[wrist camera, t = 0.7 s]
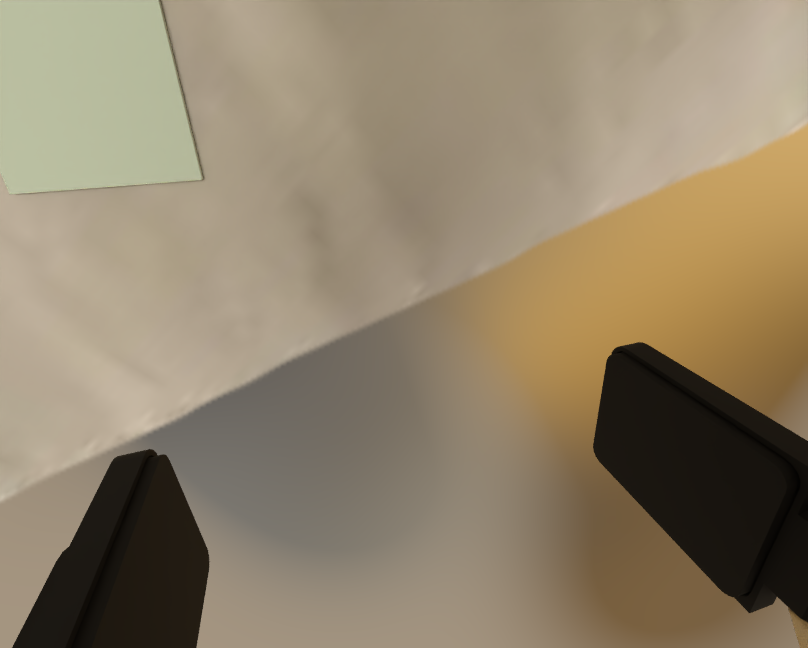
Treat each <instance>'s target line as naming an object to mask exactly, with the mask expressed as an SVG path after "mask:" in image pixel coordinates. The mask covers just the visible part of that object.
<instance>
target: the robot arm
mask: <svg viewBox="0 0 808 648" xmlns="http://www.w3.org/2000/svg"><path fill="white" fill-rule="evenodd" d="M593 448H594V453H595V455H596V457H597V459H598V460H599V462H600V463H601V464H602V465H603V466H604V467H605V468H606V469H607V470H608V471H609V472H610V473H611V474H612V475H613V477H614V478H616V480H617V481H618V482H619V483H620V484H621V485H622V486H623V487H624V488H625V489H626V490H627V491H628V492H629V493H630V495H632V497H633V498H634V499H635V500H636V501H637V502H638V503H639V504H640V505H641V506H642V507H643V508H644V509H645V510H646V512H648V514H649V515H650V516H651V517H652V518H653V519H654V520H655V521H656V522H657V523H658V524H659V525H660V526H661V527H662V528H663V530H664V531H665V532H666V533H667V534H668V535H669V536H670V537H671V538H672V539H673V540H674V541H675V542H676V543H677V544H678V545H679V546H680V548H681V549H682V550H683V551H684V552H685V553H686V554H687V555H688V556H689V557H690V558H691V559H692V560H693V561H694V562H695V563H696V565H697V566H698V567H699V568H700V569H701V570H702V571H703V572H704V573H705V574H706V575H707V576H708V577H709V578H710V579H711V580H712V581H713V582H714V583H715V585H716V586H717V587H718V588H719V589H720V590H721V591H722V592H724V593H725V594H727V595H728V596H731V597H734V598H735V599H736V600H737V601H738V602H739V603H740V604H741V605H742V606H743V607H744V608H745V609H746V610H747V611H748V612H749V613H751V612H754V611H756V610H759V609H761V608H764V607H767V606H769V605H772V604H773V603H774V601H775V599H776V597H778V598H779V599H781V601H782V602H784V603H785V604H786V605H787V606H788V610H789V613H790V616H791V620H792V623H793V626H794V630H795V633H796V636H797V640H798V643H799V646H800V648H808V441H807V440H805V439H803V438H801V437H800V436H798V435H796V434H795V433H793V432H792V431H790V430H788V429H787V428H785V427H783V426H782V425H780V424H778V423H777V422H775V421H773V420H772V419H770V418H768V417H767V416H765V415H763V414H762V413H760V412H759V411H757V410H755V409H754V408H752V407H750V406H749V405H747V404H745V403H744V402H742V401H740V400H739V399H737V398H735V397H734V396H732V395H730V394H729V393H727V392H725V391H724V390H722V389H720V388H719V387H717V386H715V385H714V384H712V383H710V382H708V381H707V380H705V379H704V378H702V377H700V376H699V375H697V374H695V373H693V372H692V371H690V370H689V369H687V368H685V367H684V366H682V365H680V364H679V363H677V362H675V361H674V360H672V359H670V358H669V357H667V356H665V355H664V354H662V353H660V352H659V351H657V350H655V349H654V348H652V347H651V346H649V345H647V344H645V343H639V342H638V343H634V344H629V345H625V346H620V347H617V348H615V349H614V350H613V352H612V355H610V356H609V357H608V359H607V362H606V369H605V375H604V381H603V387H602V394H601V400H600V406H599V412H598V419H597V425H596V431H595V437H594V444H593ZM208 572H209V554H208V550H207V547H206V545H205V542H204V540H203V538H202V535H201V533H200V531H199V528H198V526H197V524H196V521H195V519H194V516H193V514H192V512H191V510H190V507H189V505H188V503H187V500H186V498H185V496H184V493H183V491H182V488H181V486H180V484H179V482H178V479H177V477H176V474H175V472H174V470H173V467H172V465H171V463H170V460H169V459H168V457H167V456H166V455H159V456H158V455H157V453H156V452H155V451H154V450H151V449H149V450H144V451H140V452H135V453H131V454H126V455H122V456H117V457H116V458H114V459H113V461H112V462H111V464H110V466H109V468H108V470H107V472H106V474H105V476H104V478H103V480H102V482H101V484H100V486H99V488H98V490H97V492H96V494H95V496H94V498H93V500H92V502H91V504H90V506H89V508H88V510H87V512H86V514H85V516H84V518H83V520H82V522H81V524H80V526H79V528H78V530H77V532H76V534H75V536H74V538H73V540H72V542H71V544H70V546H69V547H68V548H67V549H66V550H64V551H63V552H62V554H61V555H60V557H59V558H58V560H57V561H56V563H55V565H54V567H53V569H52V571H51V573H50V575H49V577H48V579H47V581H46V583H45V585H44V587H43V589H42V591H41V593H40V594H39V596H38V599H37V601H36V602H35V604H34V606H33V608H32V610H31V612H30V614H29V616H28V618H27V620H26V622H25V624H24V626H23V628H22V630H21V631H20V634H19V635H18V637H17V639H16V641H15V643H14V645H13V647H12V648H196V646H197V640H198V634H199V627H200V622H201V615H202V609H203V603H204V596H205V591H206V585H207V578H208Z"/></svg>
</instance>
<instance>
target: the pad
mask: <svg viewBox="0 0 808 648" xmlns="http://www.w3.org/2000/svg"><path fill="white" fill-rule="evenodd" d="M0 173H1V175H2V177H3V180H4V182H5V184H6V187H7V189H8V191H9V193H10V194H22V193H36V192H49V191H62V190H75V189H88V188H101V187H115V186H128V185H141V184H154V183H167V182H180V181H194V180H203V175H202V171H201V167H200V163H199V158H198V154H197V150H196V146H195V142H194V138H193V134H192V130H191V125H190V121H189V117H188V113H187V109H186V105H185V101H184V97H183V92H182V88H181V84H180V80H179V76H178V72H177V68H176V63H175V59H174V55H173V51H172V47H171V43H170V39H169V35H168V30H167V26H166V22H165V18H164V14H163V10H162V6H161V2H160V0H0Z"/></svg>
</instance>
